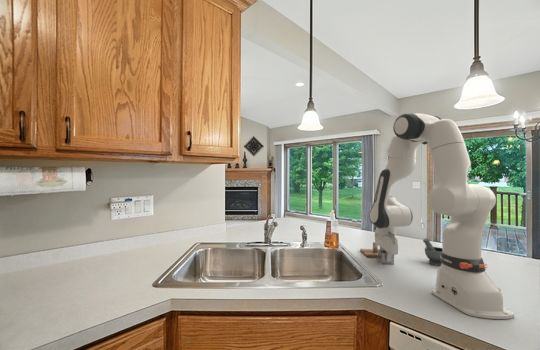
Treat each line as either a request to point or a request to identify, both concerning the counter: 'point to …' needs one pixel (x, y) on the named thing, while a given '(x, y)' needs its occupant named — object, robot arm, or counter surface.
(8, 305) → the counter surface
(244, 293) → the counter surface
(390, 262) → the square sleeve
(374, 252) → the post block
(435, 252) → the mortar and pestle
